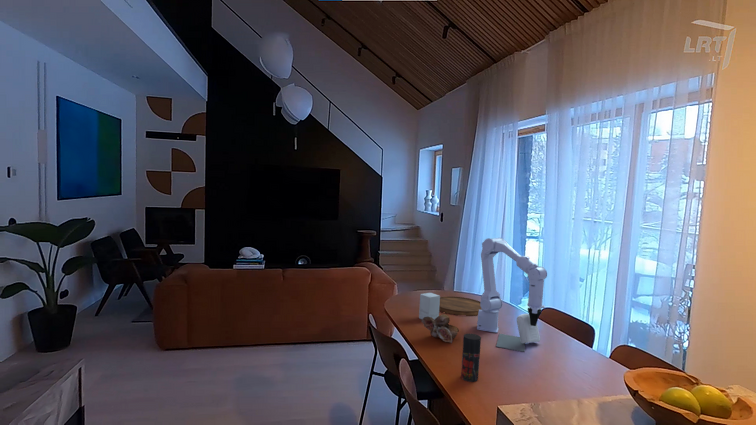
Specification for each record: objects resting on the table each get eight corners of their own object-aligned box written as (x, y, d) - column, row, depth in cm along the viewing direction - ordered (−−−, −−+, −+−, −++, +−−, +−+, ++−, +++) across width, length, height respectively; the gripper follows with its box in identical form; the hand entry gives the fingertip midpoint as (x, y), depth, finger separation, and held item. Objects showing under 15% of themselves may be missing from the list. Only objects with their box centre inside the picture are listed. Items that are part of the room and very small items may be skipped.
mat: (496, 347, 176) (496, 346, 176) (499, 334, 192) (499, 333, 192) (524, 352, 172) (524, 351, 172) (525, 338, 188) (525, 338, 188)
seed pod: (416, 317, 189) (426, 317, 175) (448, 309, 193) (460, 308, 179) (424, 346, 187) (434, 349, 173) (456, 337, 191) (469, 339, 177)
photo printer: (534, 341, 185) (527, 313, 189) (542, 341, 182) (535, 312, 186) (519, 343, 179) (513, 314, 183) (527, 343, 176) (521, 313, 180)
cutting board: (476, 320, 211) (477, 316, 211) (420, 308, 228) (421, 303, 228) (495, 307, 239) (495, 302, 238) (443, 297, 256) (444, 292, 255)
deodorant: (458, 374, 148) (461, 333, 147) (474, 374, 149) (477, 333, 148) (463, 381, 142) (466, 339, 141) (480, 382, 143) (483, 339, 142)
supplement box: (439, 320, 208) (440, 295, 207) (428, 322, 204) (429, 297, 203) (429, 316, 214) (430, 292, 213) (418, 318, 210) (419, 293, 209)
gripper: (546, 300, 171) (543, 332, 172) (545, 292, 184) (542, 322, 185) (527, 297, 173) (525, 329, 174) (528, 290, 187) (526, 319, 188)
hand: (533, 325), depth 180 cm, fingers closed
